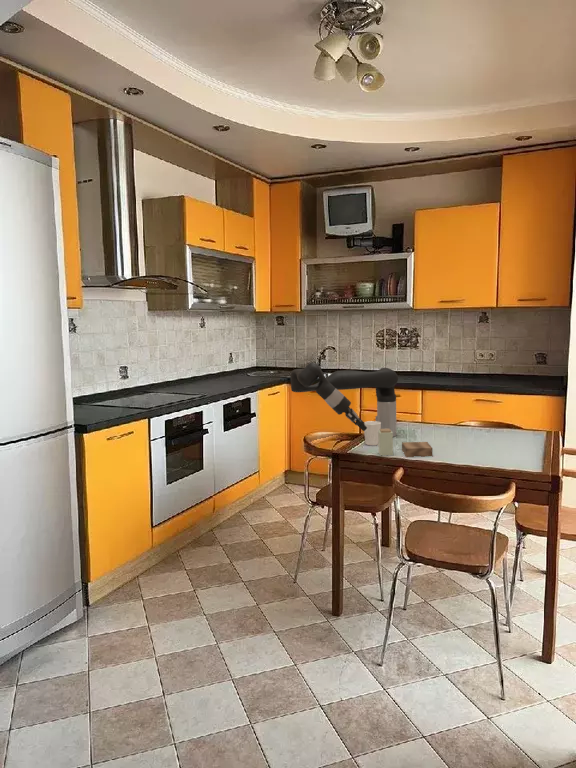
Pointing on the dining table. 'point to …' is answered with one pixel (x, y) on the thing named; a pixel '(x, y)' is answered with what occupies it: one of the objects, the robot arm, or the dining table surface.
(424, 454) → the walnut block
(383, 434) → the canister
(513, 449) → the dining table surface
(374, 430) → the white cup
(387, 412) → the robot arm
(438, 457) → the dining table surface
